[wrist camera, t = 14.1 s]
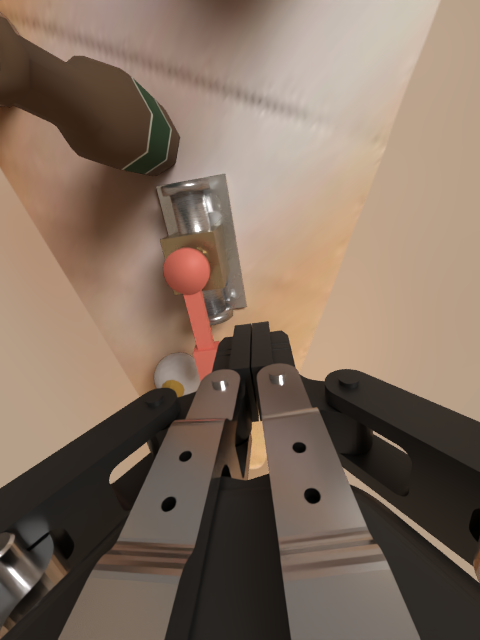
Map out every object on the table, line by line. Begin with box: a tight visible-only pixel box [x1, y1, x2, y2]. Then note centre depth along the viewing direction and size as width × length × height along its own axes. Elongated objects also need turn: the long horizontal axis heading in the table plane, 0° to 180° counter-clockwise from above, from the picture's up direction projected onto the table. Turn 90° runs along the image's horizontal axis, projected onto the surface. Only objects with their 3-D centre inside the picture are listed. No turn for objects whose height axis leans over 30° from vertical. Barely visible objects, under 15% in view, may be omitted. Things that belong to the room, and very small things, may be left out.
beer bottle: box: [0, 17, 180, 176], centre depth 24 cm, size 8×8×24 cm
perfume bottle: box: [154, 352, 201, 397], centre depth 43 cm, size 8×10×12 cm
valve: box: [156, 174, 247, 325], centre depth 35 cm, size 9×18×11 cm, turn 9°
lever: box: [163, 247, 219, 381], centre depth 31 cm, size 15×5×2 cm, turn 10°
